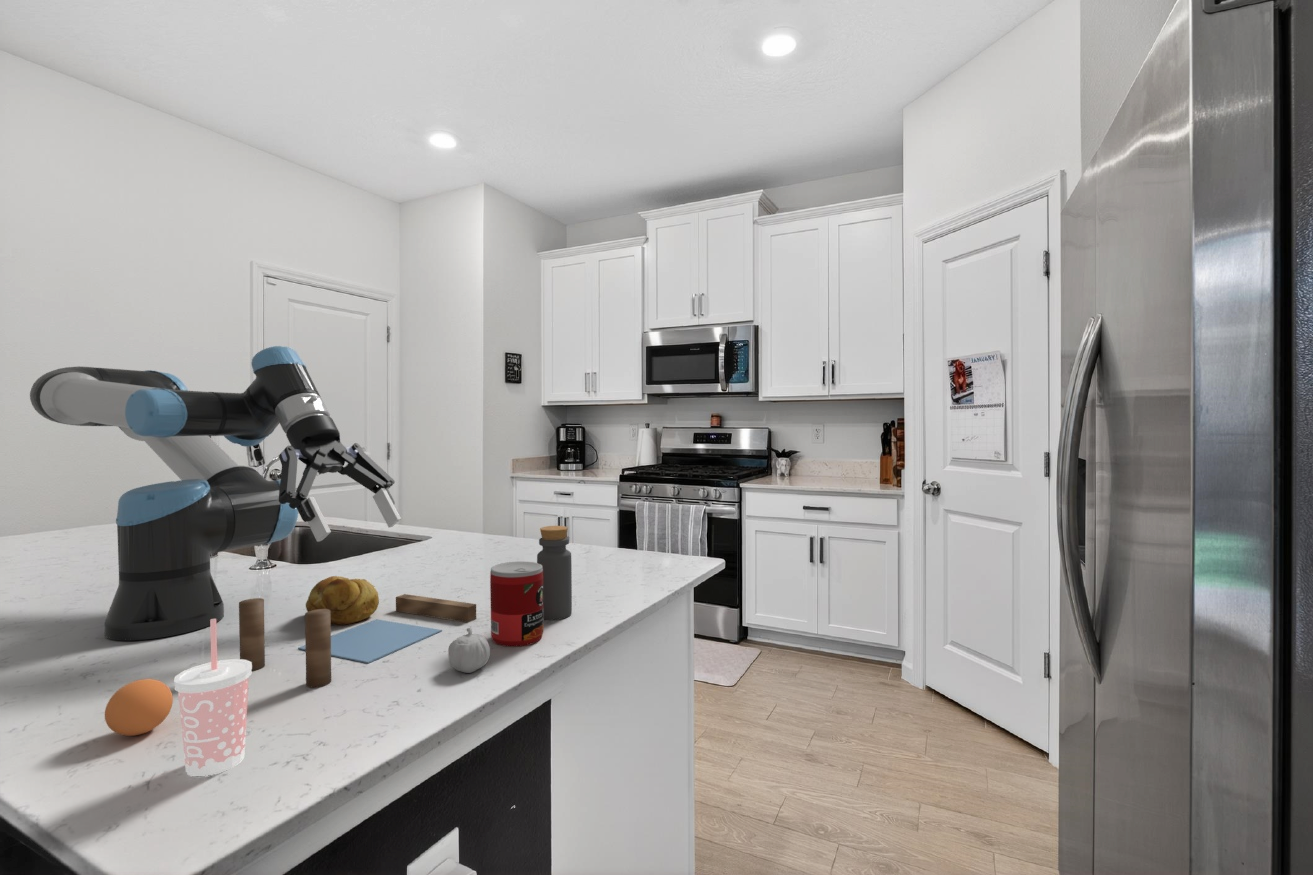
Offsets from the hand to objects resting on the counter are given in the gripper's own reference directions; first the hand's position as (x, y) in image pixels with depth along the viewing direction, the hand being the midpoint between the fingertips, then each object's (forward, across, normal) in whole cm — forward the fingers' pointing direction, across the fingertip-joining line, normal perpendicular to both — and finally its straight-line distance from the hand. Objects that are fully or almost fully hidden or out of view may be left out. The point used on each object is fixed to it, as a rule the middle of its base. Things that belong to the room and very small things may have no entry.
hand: (361, 529), depth 99 cm
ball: (+15, -35, 0) cm, 38 cm away
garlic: (+30, -8, -14) cm, 34 cm away
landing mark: (+17, -5, +2) cm, 18 cm away
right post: (+21, -19, -3) cm, 28 cm away
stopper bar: (+17, +8, +3) cm, 19 cm away
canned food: (+29, +4, -13) cm, 32 cm away
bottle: (+28, +16, -12) cm, 35 cm away
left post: (+14, -19, +8) cm, 25 cm away
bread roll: (+9, +1, +14) cm, 17 cm away
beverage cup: (+26, -35, -9) cm, 45 cm away
